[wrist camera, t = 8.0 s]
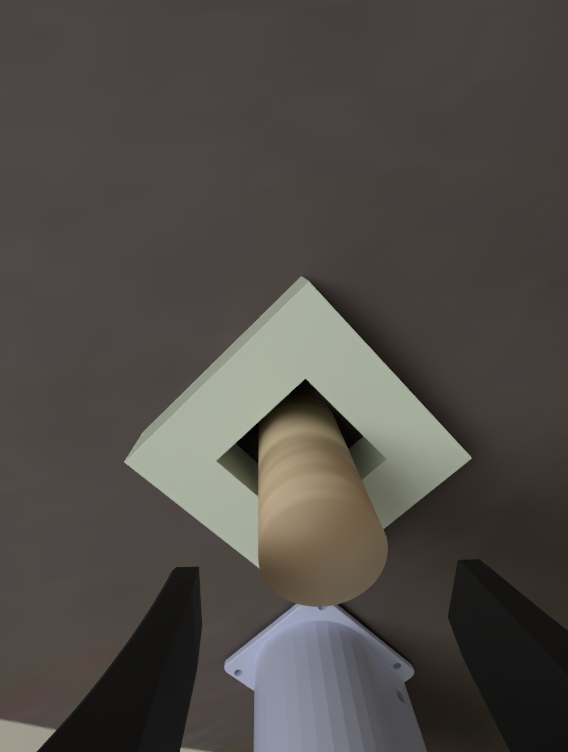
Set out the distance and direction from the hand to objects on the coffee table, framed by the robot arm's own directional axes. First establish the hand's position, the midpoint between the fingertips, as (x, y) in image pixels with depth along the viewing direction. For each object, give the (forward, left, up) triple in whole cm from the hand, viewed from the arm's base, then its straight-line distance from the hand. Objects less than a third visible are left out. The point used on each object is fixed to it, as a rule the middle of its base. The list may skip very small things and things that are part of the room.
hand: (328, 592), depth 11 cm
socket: (0, 0, -10) cm, 10 cm away
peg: (0, 0, -10) cm, 10 cm away
